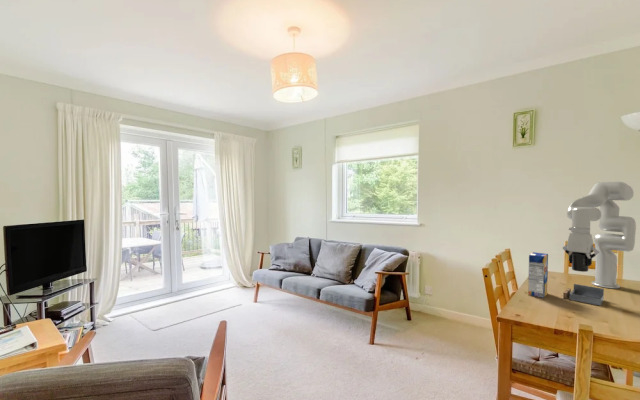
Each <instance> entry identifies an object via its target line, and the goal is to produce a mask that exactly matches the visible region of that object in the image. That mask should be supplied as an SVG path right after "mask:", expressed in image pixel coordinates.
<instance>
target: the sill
mask: <svg viewBox="0 0 640 400" xmlns="http://www.w3.org/2000/svg"><path fill="white" fill-rule="evenodd" d="M571 292H572V288H567V289H566V290H565V291H564V292H563V295H562V296H563V299H565V300H567V298H568V297H569V296H570V293H571Z"/></svg>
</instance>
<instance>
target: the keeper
mask: <svg viewBox="0 0 640 400" xmlns="http://www.w3.org/2000/svg"><path fill="white" fill-rule="evenodd" d="M604 291H605V288H603V287H595V286H588V285H584V284H583V285H582V284H578V283H574V284H573V290H571V293H570V295H569V296H568V297H569V301H573V302H574V301H575V302H579V303H585V304H589V305H594V306H600V307H601V305H602V303H603V302H604V296H605V295H604V294H605V292H604Z"/></svg>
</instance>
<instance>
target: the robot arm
mask: <svg viewBox="0 0 640 400" xmlns="http://www.w3.org/2000/svg"><path fill="white" fill-rule="evenodd" d="M633 197H634V189H633V188H632V186H630V185H629V184H627V183H626V182H622V181H601V182H597V183H595V184H594V185H593V186H592V188H591V189H590V191H589V192H588V193H587V195H585V196H582V197H580V198H577V199H575V200H573V202H571V204H570V205H569V206H568V208H567V210H566V216H567V218H568V219H569V220H571V227H568V231H571V232H569V233H568V238H567V244H565V245H564V246H562V250H563V251H565V253H566V254H567V256H568V262H569V264H572V253H574V252H579V253H586V255H587V257H588V258H587V259H586V266H588V267H591V265H592V262H593V258H595V270H594V271H595V273H594V275H595V277H594V278H595V279H594V280H592V281H591V284H592V285H593V286H597V287H598V288H604V289H605V288H606V289H617V290H618V289H620V288H621V285H619V284H618V283H617V274H618V272H617V271H618V270H617V269H618V258H617V255H616V254H615V253H614V251H617V252H618V251H619V252H626V253H627V252H628V253H629V252H632V251H633V250H634V248H635V244H636V234H637V233H636V230H637V224H636V220H635V219H634V218H633V217H631V216H626V215H625V216H623V215H622V216H621V215H620V207H619V205H618V204H617V203H616V201H630V200H631V199H633ZM598 207H599V208H598ZM597 221H598V227H599V229H600V230H601V231H604V232H600V233H597V234H595V236H594V237H593V235H592V234H591V222H597ZM607 232H610V233H607ZM611 232H613V233H611ZM616 233H617V234H616ZM618 233H621V234H618ZM622 233H623V234H622Z"/></svg>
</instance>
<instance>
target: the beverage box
mask: <svg viewBox="0 0 640 400" xmlns="http://www.w3.org/2000/svg"><path fill="white" fill-rule="evenodd" d="M548 267H549V254H548V253H544V252H543V253H542V252H535V251H533V252H531V253H529V254H528V285H527V286H528V293H527V294H528V296H531V295H532V297H536V296H537V298H542V299H544V298H545V297H546V296H547V294H548V281H549V280H548V278H549V277H548V275H549V274H548V273H549V272H548V271H549V270H548V269H549V268H548Z"/></svg>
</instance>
